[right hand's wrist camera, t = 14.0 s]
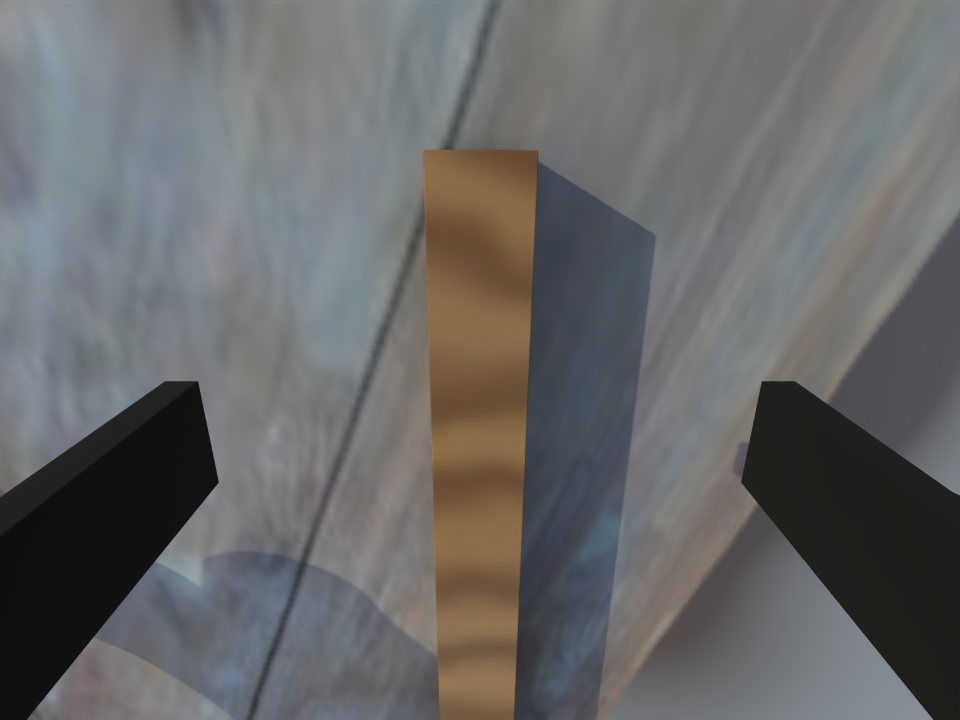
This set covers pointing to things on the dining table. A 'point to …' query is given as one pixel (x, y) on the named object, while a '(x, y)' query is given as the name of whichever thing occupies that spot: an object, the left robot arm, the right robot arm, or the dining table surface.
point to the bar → (478, 414)
